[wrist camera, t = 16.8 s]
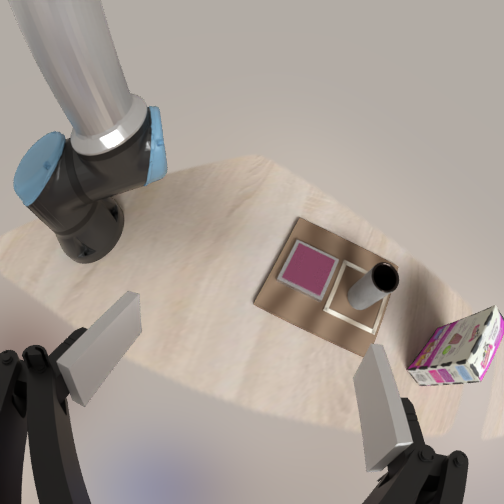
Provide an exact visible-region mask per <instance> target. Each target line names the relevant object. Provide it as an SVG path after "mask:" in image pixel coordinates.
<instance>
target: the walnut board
mask: <svg viewBox="0 0 504 504" xmlns="http://www.w3.org/2000/svg"><path fill="white" fill-rule="evenodd" d="M297 240H300V241H302V242H304V243H306V244H308V245H310V246H312V247H314V248H316V249H318V250H320V251H323V252H325V253H327V254H329V255H331V256H333V257H335V258H337V259H339V261H338V263H337V266H336V268H335V271H334V273H333V276H332V278H331V280H330V283H329V285H328V287H327V290H326V292H325V294H324V296H323V299H322V301H321V302H318V301H316V300H314V299H312V298H310V297H307V296H305V295H303V294H301V293H299V292H297V291H295V290H293V289H291V288H289V287H287V286H285V285H283V284H281V283H279V282H277V281H276V280H277V278H278V276H279V274H280V272H281V270H282V268H283V266H284V264H285V262H286V260H287V258H288V256H289V254H290V252H291V251H292V249H293V247H294V245H295V243H296V241H297ZM380 262H387V263H389V264H391V265H392V266H393V267H394V268H395V269H396V271H397V270H398V266H396V265H395V264H393V263H391V262H389V261H387V260H385V259H383V258H381V257H379V256H377V255H375V254H373V253H371V252H369V251H368V250H366V249H364V248H362V247H360V246H358V245H356V244H354V243H352V242H350V241H348V240H345V239H343V238H341V237H339V236H337V235H335V234H333V233H331V232H329V231H327V230H325V229H323V228H321V227H319V226H316V225H314V224H312V223H310V222H308V221H306V220H304V219H301V218H299V220H298V222H297V224H296V225H295V227H294V229H293V231H292V233H291V235H290V237H289V239H288V241H287V243H286V244H285V246H284V248H283V250H282V252H281V254H280V256H279V258H278V259H277V261H276V263H275V265H274V267H273V269H272V271H271V272H270V274H269V276H268V278H267V280H266V282H265V284H264V285H263V287H262V289H261V291H260V293H259V295H258V296H257V298H256V300H255V302H254V305H255V306H257V307H259V308H261V309H263V310H265V311H267V312H269V313H271V314H273V315H275V316H277V317H279V318H281V319H283V320H285V321H287V322H289V323H291V324H293V325H295V326H297V327H299V328H301V329H303V330H306V331H308V332H310V333H312V334H314V335H316V336H318V337H320V338H322V339H325V340H327V341H329V342H331V343H333V344H335V345H338V346H340V347H342V348H344V349H346V350H349V351H351V352H353V353H355V354H357V355H360V356H362V357H364V356H365V354H366V352H367V350H368V348H369V346H370V344H374V341H375V339H376V336H377V333H378V331H379V328H380V325H381V322H382V319H383V316H384V313H385V310H386V307H387V304H388V301H389V298H390V295H391V293H390V294H388V295H387V296H385V297H384V298H382V299H381V300H379V301H377V302H376V303H374V304H373V305H371V306H369V307H368V308H366V309H363V310H357V309H355V308H353V307H352V306H351V305H350V303H349V301H348V291H349V290H350V288H351V287H352V286H353V285H354V284H355V283H356V282H358V281H359V280H360V279H361V278H362V277H363V276H364V275H365V274H366V273H367V272H368V271H369V270H370V269H371V268H373V267H374V266H375V265H376V264H377V263H380Z"/></svg>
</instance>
